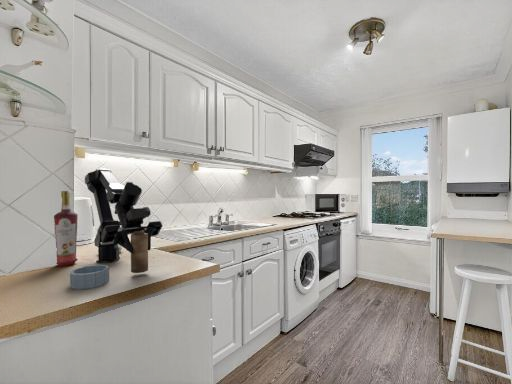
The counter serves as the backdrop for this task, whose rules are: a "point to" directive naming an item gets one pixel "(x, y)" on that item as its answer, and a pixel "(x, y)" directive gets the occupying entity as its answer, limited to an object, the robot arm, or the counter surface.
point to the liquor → (66, 232)
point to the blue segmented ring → (89, 277)
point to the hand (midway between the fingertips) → (141, 251)
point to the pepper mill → (139, 252)
